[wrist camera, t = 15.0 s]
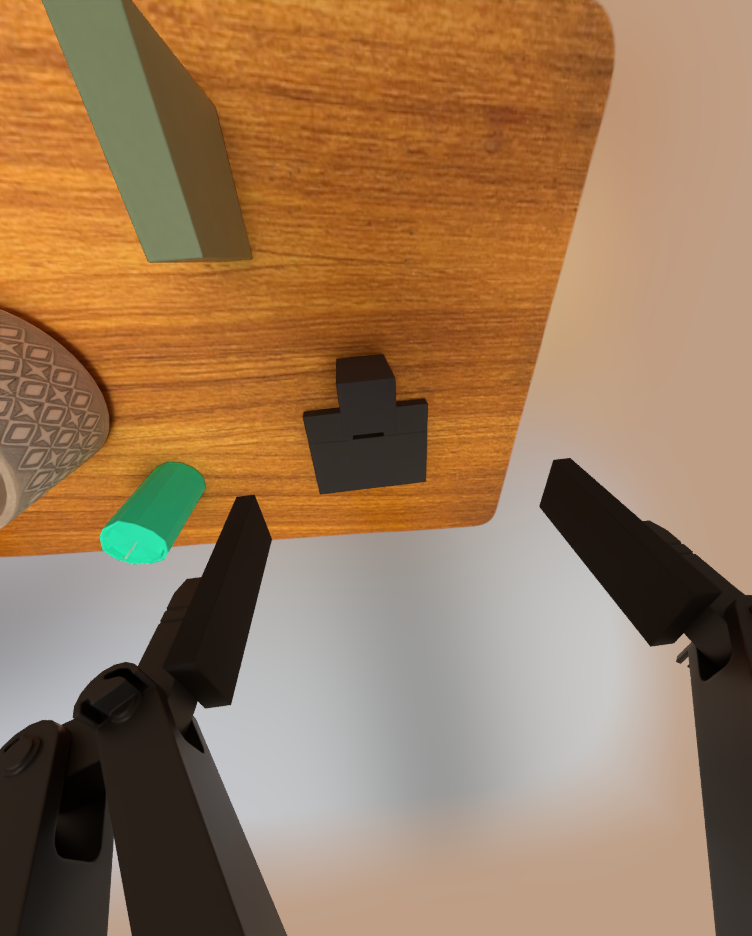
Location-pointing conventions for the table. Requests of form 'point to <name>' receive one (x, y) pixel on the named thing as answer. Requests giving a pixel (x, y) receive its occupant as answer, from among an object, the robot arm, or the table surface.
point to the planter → (42, 415)
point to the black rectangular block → (366, 395)
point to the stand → (153, 132)
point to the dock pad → (368, 450)
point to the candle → (153, 515)
